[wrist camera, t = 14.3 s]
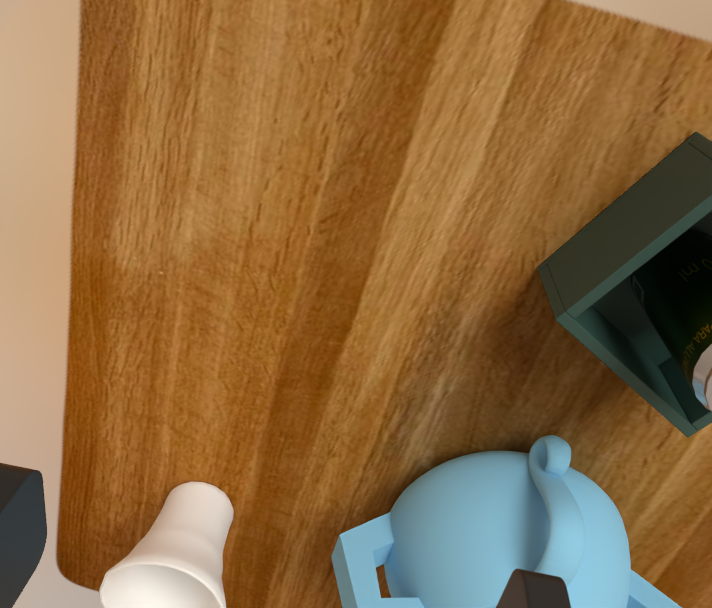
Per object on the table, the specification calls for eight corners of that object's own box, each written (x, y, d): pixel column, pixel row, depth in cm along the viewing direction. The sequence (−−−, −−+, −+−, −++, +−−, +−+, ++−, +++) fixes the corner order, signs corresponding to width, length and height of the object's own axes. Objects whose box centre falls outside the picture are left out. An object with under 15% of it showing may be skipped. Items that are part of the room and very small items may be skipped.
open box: (696, 130, 36) (747, 165, 30) (815, 260, 38) (883, 314, 33) (536, 267, 40) (555, 320, 35) (653, 373, 43) (687, 438, 37)
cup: (231, 556, 56) (195, 669, 47) (133, 508, 54) (77, 616, 45) (280, 496, 52) (251, 607, 43) (176, 442, 50) (124, 546, 41)
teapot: (337, 479, 50) (311, 647, 38) (574, 386, 44) (632, 551, 32) (450, 623, 57) (459, 803, 45) (667, 560, 51) (743, 749, 39)
